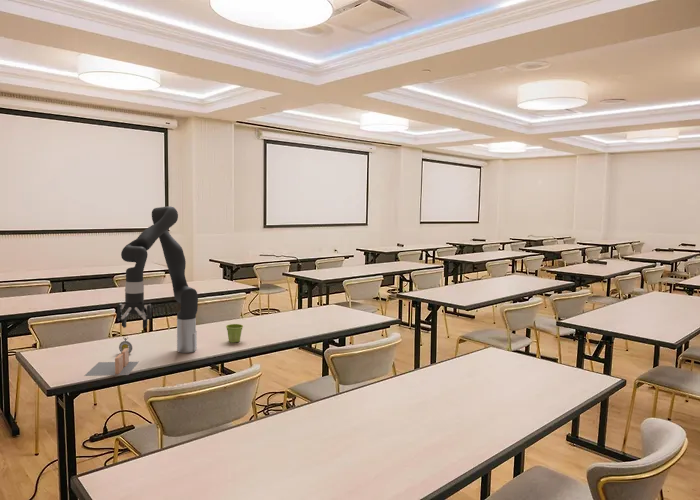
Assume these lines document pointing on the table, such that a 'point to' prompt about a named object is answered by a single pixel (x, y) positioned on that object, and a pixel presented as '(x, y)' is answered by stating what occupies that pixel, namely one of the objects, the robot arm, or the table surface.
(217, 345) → the table surface
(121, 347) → the pocket watch
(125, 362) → the tile far
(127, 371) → the slate board
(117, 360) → the tile near
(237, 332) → the plant pot
